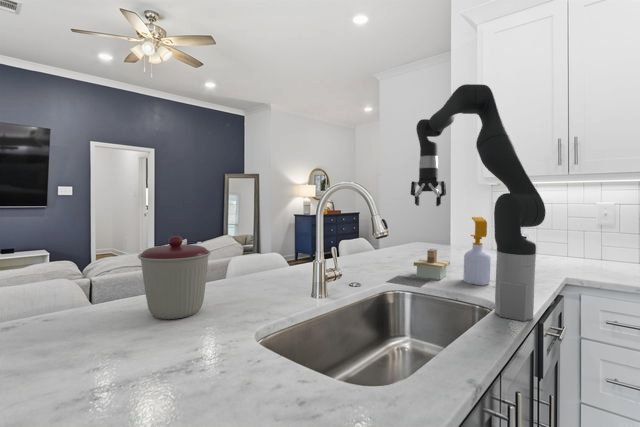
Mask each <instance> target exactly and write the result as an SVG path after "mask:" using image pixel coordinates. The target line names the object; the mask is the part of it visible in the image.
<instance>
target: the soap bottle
mask: <svg viewBox="0 0 640 427" xmlns="http://www.w3.org/2000/svg"><path fill="white" fill-rule="evenodd" d="M471 220H473V221H474V234H470V237H473V239H474V242H472V248H471V249H469V250H468V251H466V252H465V253H464V255H463V279H462V280H463V282H465V283H468V284H471V285H474V286H475V285H476V286H485V285H486V286H487V285H489V284H490V280H491V279H490V278H491V276H490V275H491V256H490V254H489V253H487V251H485V250H483V243H482V242H481V240H483V238H486V237H487V235H488V233H487V232H488V230H487V229H488V222H487V220H486V219H485V218H484V217H482V216H472V217H471Z"/></svg>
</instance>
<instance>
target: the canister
mask: <svg viewBox="0 0 640 427" xmlns="http://www.w3.org/2000/svg"><path fill="white" fill-rule="evenodd" d="M183 241H184V240H183V238H182V237H181V236H179V235H173V236H171V237H169V238H168V244H167V245H161V246H154V247H150V248H147V249H144V251H142V252H141V253H139V254H138V255H137V258H138V259H139V260H140V263H141V271H142V280H143V285H144V286H143V287H144V293H145V298H146V304H147V309H148V311H149V314H150V315H151V316H153V317H154V318H156V319H160V320H161V319H162V320H176V319H181V318H186V317H187V318H188V317H190V316H193V315H195V314H196V313H198V312H199V311H200V310H201V308H202V307H203V304H204V298H205V293H206V292H205V291H206V283H207V274H208V266H209V264H208V263H209V256H210V255H211V253H212V252H211V250H210V249H207V248H206V247H204V246H201V245H195V244H183Z"/></svg>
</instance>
